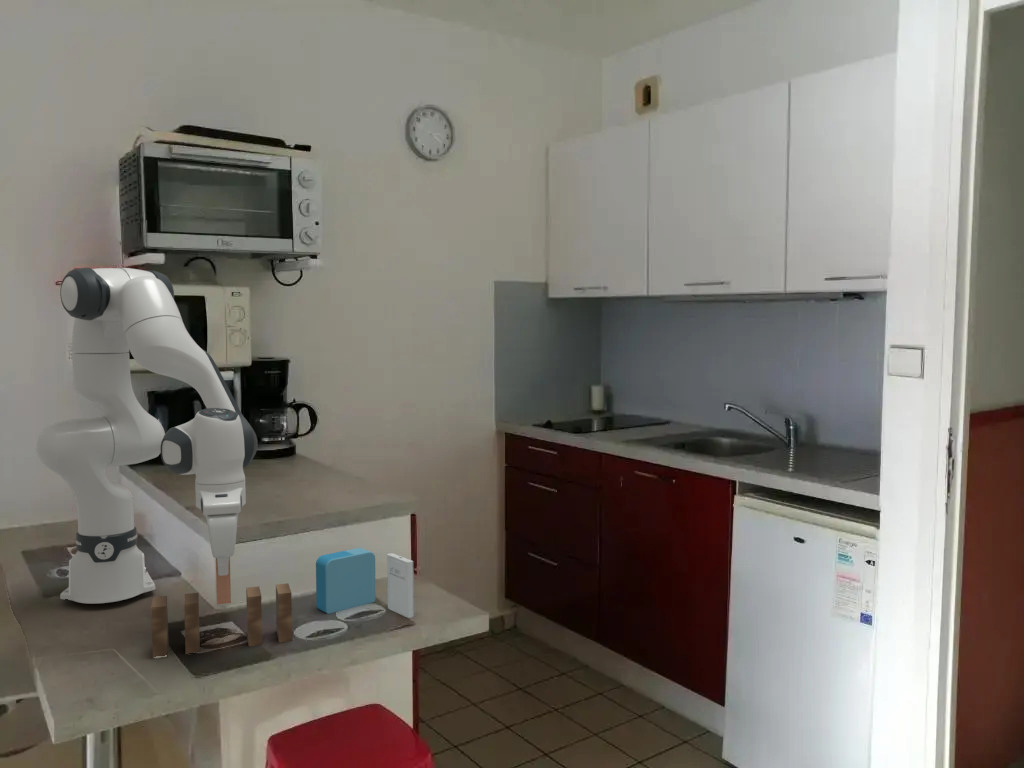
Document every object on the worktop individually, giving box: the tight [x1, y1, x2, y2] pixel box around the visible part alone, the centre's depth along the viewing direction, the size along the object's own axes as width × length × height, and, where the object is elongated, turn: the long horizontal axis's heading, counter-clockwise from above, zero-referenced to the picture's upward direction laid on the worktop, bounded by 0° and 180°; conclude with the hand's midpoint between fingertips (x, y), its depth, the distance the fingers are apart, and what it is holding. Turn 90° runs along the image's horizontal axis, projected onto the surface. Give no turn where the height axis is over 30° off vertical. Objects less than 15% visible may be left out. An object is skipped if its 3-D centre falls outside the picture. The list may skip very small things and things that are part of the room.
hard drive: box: [386, 552, 415, 619], centre depth 173 cm, size 2×8×12 cm, turn 41°
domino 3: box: [215, 557, 232, 605], centre depth 156 cm, size 2×6×10 cm, turn 20°
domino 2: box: [183, 592, 201, 654], centre depth 155 cm, size 2×6×10 cm, turn 21°
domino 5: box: [275, 583, 293, 643], centre depth 161 cm, size 2×6×10 cm, turn 21°
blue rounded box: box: [315, 547, 377, 615], centre depth 178 cm, size 12×4×12 cm, turn 131°
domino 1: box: [150, 595, 169, 658], centre depth 153 cm, size 2×6×10 cm, turn 20°
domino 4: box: [245, 585, 263, 647], centre depth 159 cm, size 2×6×10 cm, turn 20°
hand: (222, 569), depth 156 cm, fingers closed on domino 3, 6 cm apart
